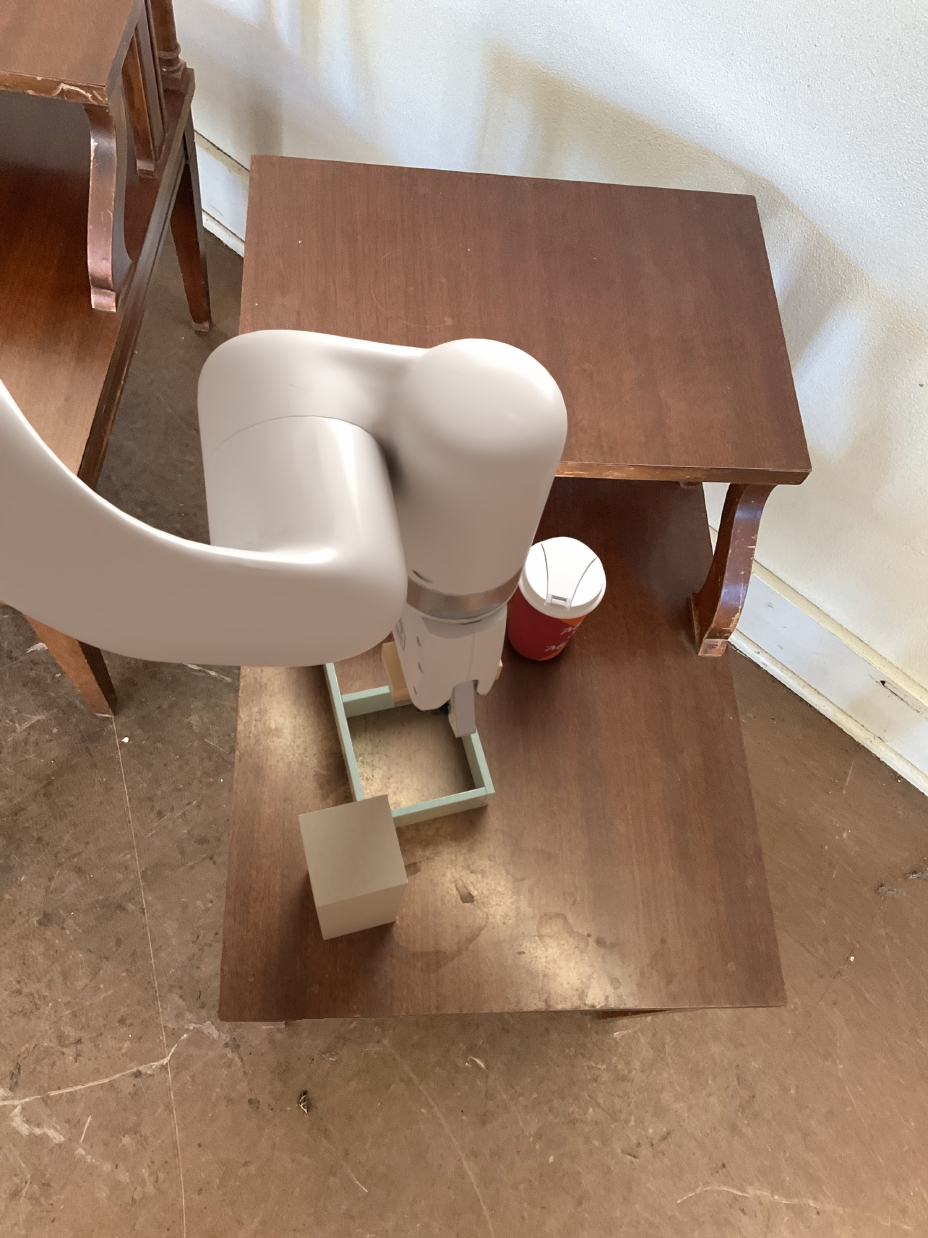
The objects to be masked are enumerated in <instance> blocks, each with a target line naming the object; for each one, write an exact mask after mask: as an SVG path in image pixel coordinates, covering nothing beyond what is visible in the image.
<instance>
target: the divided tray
mask: <svg viewBox="0 0 928 1238" xmlns="http://www.w3.org/2000/svg"><path fill="white" fill-rule="evenodd" d="M322 669H323V672H324V676H325V681H326V686H327V690H328V695H329V699H330V703H331V708H332V711H333V717H334V721H335V725H336V730H337V735H338V739H339V743H340V744H339V745H340V748H341V753H342V756H343V760H344V761H343V762H344V766H345V770H346V774H347V779H348V783H349V788H350V793H351V796H352V802H356V801H360V800H364V799H366V798H365V795H364V790H363V785H362V781H361V777H360V772H359V769H358V764H357V759H356V755H355V750H354V747H353V742H352V737H351V734H350V730H349V725H348V720H347V718H352V717H357V716H361V715H362V716H363V715H365V714H366V715H367V714H371V713H375V712H380V711H385V710H389V709H394V708H398V707H399V706H397V707H395V706H394V703H393V702H392V699H391V695H390V691H389V687H388V685H383V686H380V687H378V686H377V687H374V688H369V689H365V690H360V691H356V692H350V693H346V694H342V695H341V690H340V686H339V681H338V678H337V671H336V669H335V664H334V662H333V663H327V664H322ZM412 704H413V703H410V704H409V705H412ZM406 705H407V706H408V704H406ZM406 705H405V706H406ZM402 706H404V705H401V706H400V707H402ZM460 738H461V741H462V744H463V745H462V746H463V748H464V752H465V755H466V760H467V762H468V765H469V769H470V773H471V776H472V779H473V783H474V788H475V789H471V790H467V791H463V792H458V793H454V794H451V795H447V796H441V797H438V798H434V799H429V800H426V801H421V802H417V803H412V804H409V805H404V806H401V807H397V808H393V809H391V813H392V817H393V821H394V825H395V829H397V828H401V827H406V826H410V825H413V824H418V823H421V822H425V821H430V820H433V819H437V818H441V817H445V816H446V817H447V816H449V815H454V814H457V813H461V812H466V811H470V810H474V809H479V808H481V807H485V806H489V804H490V803H491V801H492V799H493V797H494V795H495V793H496V791H495V787H494V783H493V780H492V777H491V773H490V769H489V767H488V763H487V759H486V756H485V753H484V749H483V745H482V742H481V739H480V735H479V731H478V728H477V727H476V733H474V734H470V735H466V736H462V737H460Z"/></svg>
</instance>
